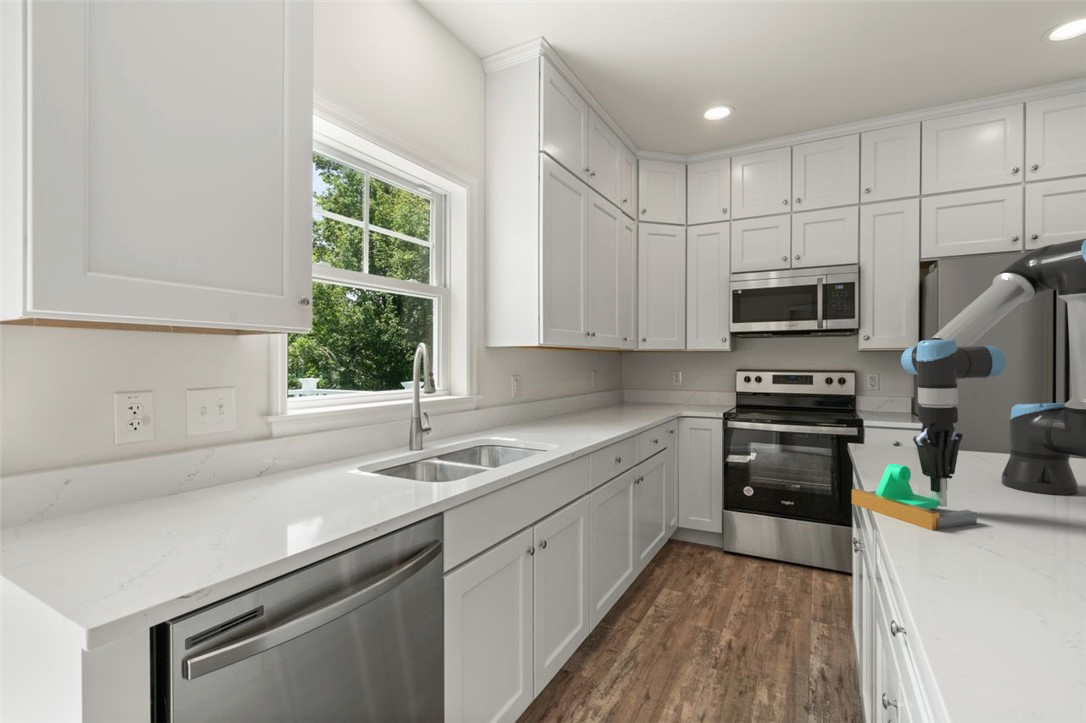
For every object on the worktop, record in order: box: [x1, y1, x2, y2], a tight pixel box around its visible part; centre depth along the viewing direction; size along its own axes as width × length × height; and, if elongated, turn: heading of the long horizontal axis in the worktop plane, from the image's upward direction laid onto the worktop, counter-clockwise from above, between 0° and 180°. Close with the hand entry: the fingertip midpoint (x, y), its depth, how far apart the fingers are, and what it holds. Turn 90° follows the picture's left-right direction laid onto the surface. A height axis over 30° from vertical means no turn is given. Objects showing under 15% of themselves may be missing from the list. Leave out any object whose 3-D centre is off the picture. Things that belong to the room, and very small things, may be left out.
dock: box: [851, 488, 978, 531], centre depth 123 cm, size 13×20×4 cm, turn 17°
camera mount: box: [875, 463, 939, 510], centre depth 126 cm, size 12×8×10 cm, turn 112°
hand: (939, 504), depth 125 cm, fingers closed
